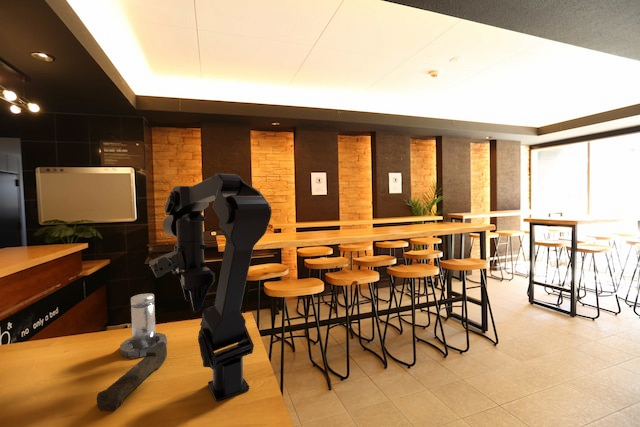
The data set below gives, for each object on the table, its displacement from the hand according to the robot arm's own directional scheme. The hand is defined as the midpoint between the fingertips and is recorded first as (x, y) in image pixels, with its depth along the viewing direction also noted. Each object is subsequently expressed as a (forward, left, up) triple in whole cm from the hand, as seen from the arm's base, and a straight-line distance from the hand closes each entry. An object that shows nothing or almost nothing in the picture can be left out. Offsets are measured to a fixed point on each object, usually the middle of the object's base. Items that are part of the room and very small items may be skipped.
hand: (192, 305), depth 73 cm
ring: (+11, +9, -12) cm, 19 cm away
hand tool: (-4, +12, -12) cm, 18 cm away
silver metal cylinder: (+11, +9, -12) cm, 19 cm away
